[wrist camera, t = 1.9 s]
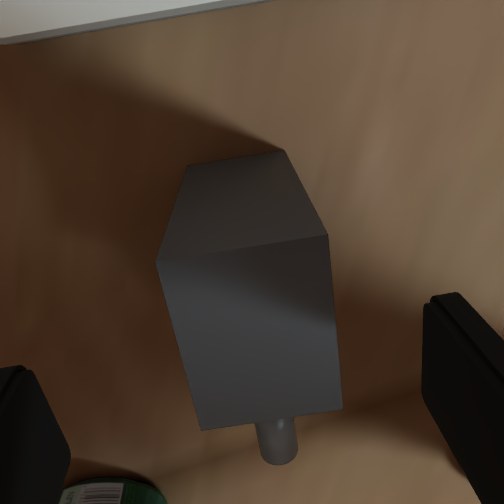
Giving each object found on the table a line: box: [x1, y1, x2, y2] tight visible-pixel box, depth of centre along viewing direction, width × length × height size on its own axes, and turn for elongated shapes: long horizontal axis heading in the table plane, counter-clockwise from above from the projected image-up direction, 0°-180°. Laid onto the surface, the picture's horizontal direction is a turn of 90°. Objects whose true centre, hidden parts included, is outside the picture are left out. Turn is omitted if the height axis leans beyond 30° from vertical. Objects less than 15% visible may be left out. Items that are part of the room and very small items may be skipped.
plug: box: [155, 150, 343, 465], centre depth 18 cm, size 4×9×10 cm, turn 9°
